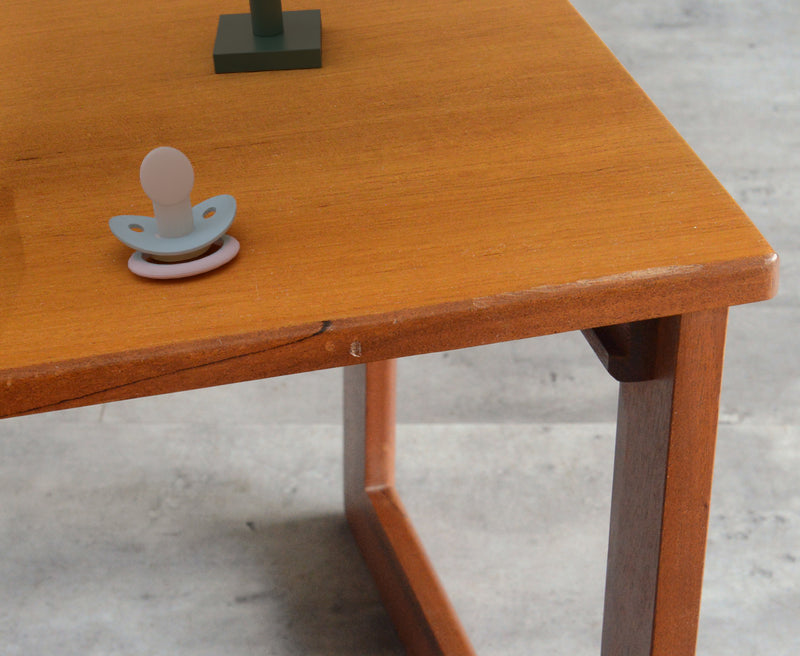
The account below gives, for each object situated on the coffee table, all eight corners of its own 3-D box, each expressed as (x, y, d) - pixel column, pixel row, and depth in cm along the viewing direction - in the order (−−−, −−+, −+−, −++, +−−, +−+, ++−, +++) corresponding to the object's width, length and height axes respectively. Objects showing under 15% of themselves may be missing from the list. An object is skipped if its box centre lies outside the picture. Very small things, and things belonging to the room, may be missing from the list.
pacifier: (256, 270, 68) (232, 217, 72) (243, 172, 64) (219, 123, 68) (128, 297, 66) (111, 242, 70) (106, 199, 62) (90, 147, 66)
